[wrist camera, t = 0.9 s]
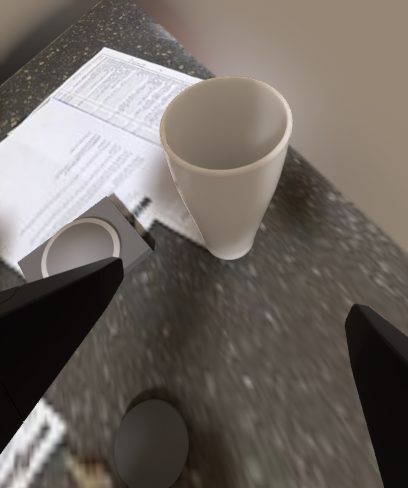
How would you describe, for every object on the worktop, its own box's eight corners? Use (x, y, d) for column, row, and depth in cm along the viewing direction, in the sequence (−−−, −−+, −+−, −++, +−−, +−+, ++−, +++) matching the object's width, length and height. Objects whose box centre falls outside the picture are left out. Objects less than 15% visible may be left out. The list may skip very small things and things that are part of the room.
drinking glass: (190, 261, 25) (138, 166, 11) (205, 206, 27) (177, 70, 13) (255, 274, 24) (286, 185, 10) (265, 215, 26) (302, 76, 12)
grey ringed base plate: (60, 328, 24) (48, 327, 22) (26, 265, 27) (13, 261, 26) (153, 251, 26) (148, 246, 24) (111, 201, 29) (104, 193, 27)
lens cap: (145, 509, 18) (141, 517, 17) (105, 434, 20) (100, 438, 19) (204, 448, 19) (203, 452, 18) (160, 382, 21) (157, 384, 20)
